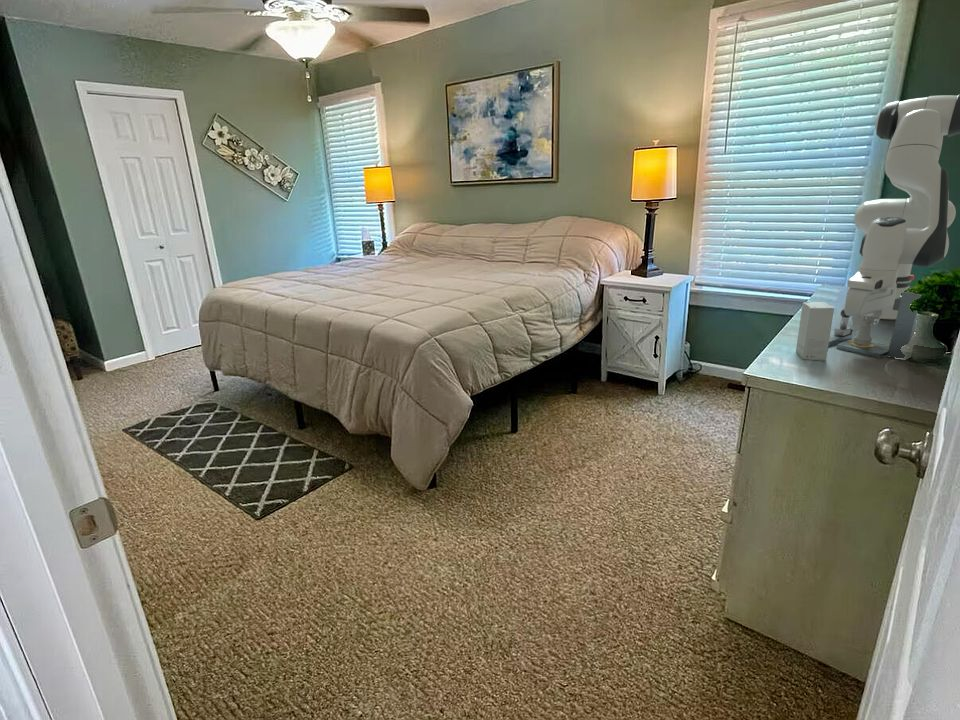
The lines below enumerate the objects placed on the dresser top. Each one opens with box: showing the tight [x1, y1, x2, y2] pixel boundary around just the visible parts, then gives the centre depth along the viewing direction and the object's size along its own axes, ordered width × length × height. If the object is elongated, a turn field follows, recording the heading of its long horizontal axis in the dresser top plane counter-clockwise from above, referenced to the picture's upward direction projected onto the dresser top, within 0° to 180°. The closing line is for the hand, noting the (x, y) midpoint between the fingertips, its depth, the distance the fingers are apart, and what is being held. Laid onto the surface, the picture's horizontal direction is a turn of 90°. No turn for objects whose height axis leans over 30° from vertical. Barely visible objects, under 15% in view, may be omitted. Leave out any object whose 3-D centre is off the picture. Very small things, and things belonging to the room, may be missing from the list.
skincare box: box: [795, 301, 835, 362], centre depth 141 cm, size 8×6×15 cm
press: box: [828, 291, 922, 359], centre depth 143 cm, size 15×20×18 cm
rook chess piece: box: [853, 316, 874, 345], centre depth 145 cm, size 4×4×8 cm
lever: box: [833, 309, 852, 336], centre depth 153 cm, size 4×3×8 cm
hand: (865, 326), depth 145 cm, fingers open, 8 cm apart
